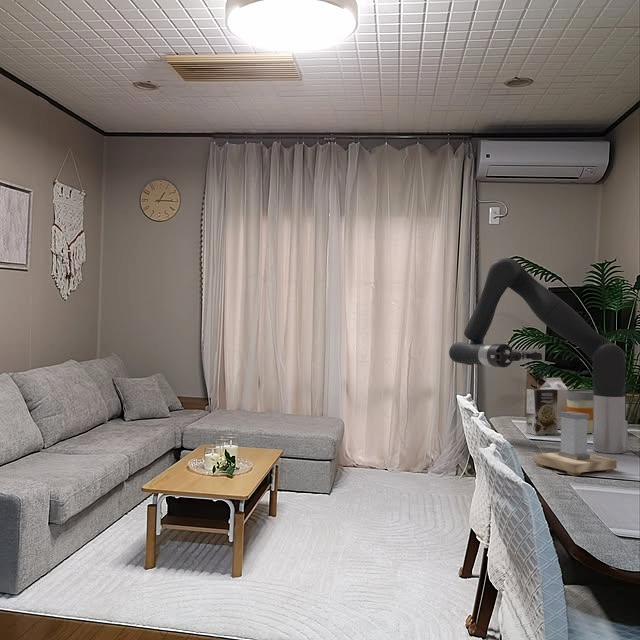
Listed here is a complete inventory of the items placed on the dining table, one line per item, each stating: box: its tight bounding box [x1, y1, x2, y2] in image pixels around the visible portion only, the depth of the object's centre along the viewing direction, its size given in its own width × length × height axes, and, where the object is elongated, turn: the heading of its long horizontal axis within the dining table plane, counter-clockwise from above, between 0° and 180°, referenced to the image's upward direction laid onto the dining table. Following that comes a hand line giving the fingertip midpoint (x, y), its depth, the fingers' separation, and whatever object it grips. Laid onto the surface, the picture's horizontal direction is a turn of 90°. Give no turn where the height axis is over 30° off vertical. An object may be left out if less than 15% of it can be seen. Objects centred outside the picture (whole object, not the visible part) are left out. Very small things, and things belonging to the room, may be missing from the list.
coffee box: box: [525, 388, 558, 436], centre depth 247 cm, size 9×6×16 cm
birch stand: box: [533, 451, 618, 477], centre depth 187 cm, size 15×15×3 cm
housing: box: [557, 411, 591, 460], centre depth 187 cm, size 4×7×12 cm, turn 24°
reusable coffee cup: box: [566, 388, 593, 433], centre depth 251 cm, size 13×13×15 cm
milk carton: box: [539, 377, 569, 430], centre depth 261 cm, size 7×7×19 cm
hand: (530, 357), depth 207 cm, fingers open, 8 cm apart
